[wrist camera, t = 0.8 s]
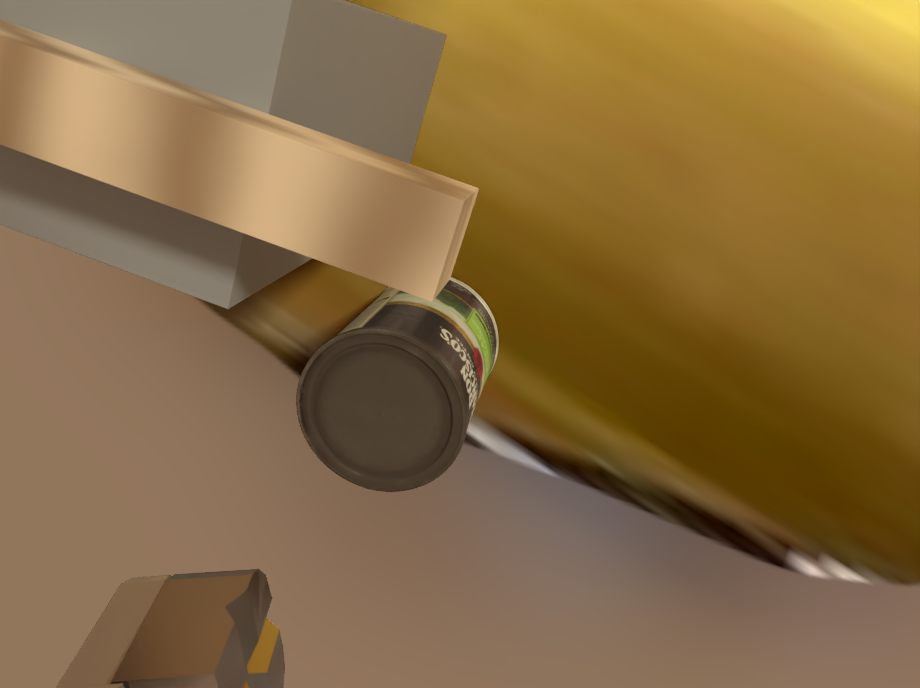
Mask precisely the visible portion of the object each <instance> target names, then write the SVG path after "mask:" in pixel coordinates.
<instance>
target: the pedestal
mask: <svg viewBox="0 0 920 688" xmlns="http://www.w3.org/2000/svg"><path fill="white" fill-rule="evenodd" d="M0 19H1V20H4V21H7V22H10V23H12V24H15V25H18V26H21V27H24V28H27V29H29V30H32V31H35V32H38V33H41V34H44V35H46V36H49V37H52V38H55V39H58V40H60V41H63V42H66V43H69V44H72V45H75V46H77V47H80V48H83V49H86V50H89V51H92V52H94V53H97V54H100V55H103V56H106V57H109V58H111V59H114V60H117V61H120V62H123V63H126V64H128V65H131V66H134V67H137V68H140V69H143V70H145V71H148V72H151V73H154V74H157V75H159V76H162V77H165V78H168V79H171V80H174V81H176V82H179V83H182V84H185V85H188V86H191V87H193V88H196V89H199V90H202V91H205V92H208V93H210V94H213V95H216V96H219V97H222V98H225V99H227V100H230V101H233V102H236V103H239V104H241V105H244V106H247V107H250V108H253V109H256V110H258V111H261V112H264V113H267V114H270V115H273V116H275V117H278V118H281V119H284V120H287V121H290V122H292V123H295V124H298V125H301V126H304V127H307V128H309V129H312V130H315V131H318V132H321V133H324V134H326V135H329V136H332V137H335V138H338V139H340V140H343V141H346V142H349V143H352V144H355V145H357V146H360V147H363V148H366V149H369V150H372V151H374V152H377V153H380V154H383V155H386V156H389V157H391V158H394V159H397V160H400V161H403V162H406V163H408V164H410V162H411V158H412V155H413V151H414V148H415V144H416V141H417V137H418V134H419V130H420V127H421V123H422V120H423V116H424V113H425V109H426V106H427V102H428V98H429V95H430V91H431V88H432V84H433V81H434V77H435V74H436V70H437V67H438V63H439V60H440V56H441V53H442V49H443V46H444V42H445V39H446V34H443V33H440V32H437V31H434V30H431V29H428V28H425V27H422V26H419V25H417V24H414V23H411V22H408V21H405V20H402V19H399V18H396V17H393V16H390V15H387V14H384V13H381V12H378V11H376V10H373V9H370V8H367V7H364V6H361V5H358V4H355V3H352V2H349V1H346V0H0ZM0 225H3V226H6V227H8V228H11V229H14V230H17V231H19V232H22V233H25V234H27V235H30V236H33V237H36V238H38V239H41V240H43V241H46V242H49V243H51V244H54V245H57V246H59V247H62V248H65V249H68V250H70V251H73V252H76V253H79V254H81V255H84V256H86V257H89V258H92V259H94V260H97V261H100V262H102V263H105V264H108V265H110V266H113V267H116V268H119V269H122V270H124V271H127V272H129V273H132V274H135V275H137V276H140V277H143V278H145V279H148V280H151V281H153V282H156V283H159V284H162V285H164V286H167V287H170V288H172V289H175V290H178V291H180V292H183V293H186V294H188V295H191V296H194V297H196V298H199V299H202V300H205V301H207V302H210V303H213V304H215V305H218V306H221V307H223V308H226V309H229V308H231V307H232V306H234V305H236V304H237V303H239V302H241V301H242V300H244V299H246V298H247V297H249V296H251V295H252V294H254V293H256V292H257V291H259V290H261V289H262V288H264V287H266V286H267V285H269V284H271V283H272V282H274V281H276V280H277V279H279V278H281V277H282V276H284V275H286V274H287V273H289V272H291V271H292V270H294V269H296V268H297V267H299V266H301V265H302V264H304V263H306V262H307V261H309V260H311V259H312V258H310V257H307V256H305V255H302V254H299V253H297V252H294V251H291V250H288V249H286V248H283V247H280V246H277V245H275V244H272V243H269V242H266V241H264V240H261V239H258V238H255V237H253V236H250V235H247V234H244V233H242V232H239V231H236V230H233V229H231V228H228V227H225V226H223V225H220V224H217V223H214V222H212V221H209V220H206V219H203V218H201V217H198V216H195V215H192V214H190V213H187V212H184V211H181V210H179V209H176V208H173V207H170V206H168V205H165V204H162V203H159V202H157V201H154V200H151V199H149V198H146V197H143V196H140V195H138V194H135V193H132V192H129V191H127V190H124V189H121V188H118V187H116V186H113V185H110V184H107V183H105V182H102V181H99V180H96V179H94V178H91V177H88V176H85V175H83V174H80V173H77V172H75V171H72V170H69V169H66V168H64V167H61V166H58V165H55V164H53V163H50V162H47V161H44V160H42V159H39V158H36V157H33V156H31V155H28V154H25V153H22V152H20V151H17V150H14V149H12V148H9V147H6V146H3V145H1V144H0Z"/></svg>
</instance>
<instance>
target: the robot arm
mask: <svg viewBox="0 0 920 688" xmlns="http://www.w3.org/2000/svg"><path fill="white" fill-rule="evenodd" d="M271 600H272V596H271V593H270V589H269V585H268V581H267V578H266V575H265V574H264V573H263V572H262V571H261V570H259V569H252V570H237V571H221V572H205V573H189V574H175V575H173V576H171V575H163V576H151V577H138V578H131V579H129V580H127V581H125V582H124V583H122V584H121V585H120V586H119V588H118V589H117V591H116V592H115V594H114V596H113V597H112V599H111V600H110V602H109V604H108V605H107V607H106V608H105V610H104V612H103V613H102V615H101V617H100V618H99V620H98V621H97V623H96V625H95V626H94V628H93V629H92V631H91V632H90V634H89V636H88V637H87V639H86V640H85V642H84V643H83V645H82V647H81V648H80V650H79V651H78V653H77V655H76V656H75V658H74V660H73V661H72V663H71V664H70V666H69V667H68V669H67V671H66V672H65V674H64V675H63V677H62V679H61V680H60V682H59V683H58V685H57V687H56V688H283V685H284V673H285V663H284V651H283V644H282V639H281V635H280V630H279V629H278V628H277V627H276V626H275V625H273V624H272V623H271V622H270V621H269V620H268V619H266V616H267V613H268V610H269V607H270V603H271Z"/></svg>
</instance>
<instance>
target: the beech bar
mask: <svg viewBox="0 0 920 688" xmlns="http://www.w3.org/2000/svg"><path fill="white" fill-rule="evenodd" d="M0 144H1V145H3V146H6V147H9V148H12V149H14V150H17V151H20V152H22V153H25V154H28V155H31V156H33V157H36V158H39V159H42V160H44V161H47V162H50V163H53V164H55V165H58V166H61V167H64V168H66V169H69V170H72V171H75V172H77V173H80V174H83V175H85V176H88V177H91V178H94V179H96V180H99V181H102V182H105V183H107V184H110V185H113V186H116V187H118V188H121V189H124V190H127V191H129V192H132V193H135V194H138V195H140V196H143V197H146V198H149V199H151V200H154V201H157V202H159V203H162V204H165V205H168V206H170V207H173V208H176V209H179V210H181V211H184V212H187V213H190V214H192V215H195V216H198V217H201V218H203V219H206V220H209V221H212V222H214V223H217V224H220V225H223V226H225V227H228V228H231V229H233V230H236V231H239V232H242V233H244V234H247V235H250V236H253V237H255V238H258V239H261V240H264V241H266V242H269V243H272V244H275V245H277V246H280V247H283V248H286V249H288V250H291V251H294V252H297V253H299V254H302V255H305V256H307V257H310V258H313V259H316V260H318V261H321V262H324V263H327V264H329V265H332V266H335V267H338V268H340V269H343V270H346V271H349V272H351V273H354V274H357V275H360V276H362V277H365V278H368V279H370V280H373V281H376V282H379V283H381V284H384V285H387V286H390V287H392V288H395V289H398V290H401V291H403V292H406V293H409V294H412V295H414V296H417V297H420V298H423V299H425V300H428V301H431V302H432V301H433V300H434V299H435V298H436V296H437V295H438V294H439V293H440V291H441V290H442V289H443V288H444V286H445V285H446V284H447V282H448V281H449V280H450V277H451V274H452V271H453V268H454V265H455V262H456V258H457V255H458V252H459V249H460V246H461V243H462V240H463V237H464V234H465V231H466V228H467V224H468V221H469V218H470V215H471V212H472V209H473V206H474V203H475V200H476V197H477V194H478V190H479V188H476V187H473V186H471V185H468V184H465V183H462V182H459V181H456V180H454V179H451V178H448V177H445V176H442V175H439V174H437V173H434V172H431V171H428V170H425V169H423V168H420V167H417V166H414V165H411V164H408V163H406V162H403V161H400V160H397V159H394V158H391V157H389V156H386V155H383V154H380V153H377V152H374V151H372V150H369V149H366V148H363V147H360V146H357V145H355V144H352V143H349V142H346V141H343V140H340V139H338V138H335V137H332V136H329V135H326V134H324V133H321V132H318V131H315V130H312V129H309V128H307V127H304V126H301V125H298V124H295V123H292V122H290V121H287V120H284V119H281V118H278V117H275V116H273V115H270V114H267V113H264V112H261V111H258V110H256V109H253V108H250V107H247V106H244V105H241V104H239V103H236V102H233V101H230V100H227V99H225V98H222V97H219V96H216V95H213V94H210V93H208V92H205V91H202V90H199V89H196V88H193V87H191V86H188V85H185V84H182V83H179V82H176V81H174V80H171V79H168V78H165V77H162V76H159V75H157V74H154V73H151V72H148V71H145V70H143V69H140V68H137V67H134V66H131V65H128V64H126V63H123V62H120V61H117V60H114V59H111V58H109V57H106V56H103V55H100V54H97V53H94V52H92V51H89V50H86V49H83V48H80V47H77V46H75V45H72V44H69V43H66V42H63V41H60V40H58V39H55V38H52V37H49V36H46V35H44V34H41V33H38V32H35V31H32V30H29V29H27V28H24V27H21V26H18V25H15V24H12V23H10V22H7V21H4V20H1V19H0Z"/></svg>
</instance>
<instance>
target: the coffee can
mask: <svg viewBox="0 0 920 688" xmlns="http://www.w3.org/2000/svg"><path fill="white" fill-rule="evenodd" d="M498 346H499V338H498V329H497V325H496V322H495V319H494V317H493V314H492V312H491V310H490V309H489V307H488V305H487V304H486V303H485V301H484V300H483V299H482V298H481V297H480V296H479V294H478V293H476V292H475V291H474V290H473V289H472V288H471V287H469V286H468V285H467V284H465V283H463V282H461V281H459V280H457V279H455V278H452V277H450V280H449V281H448V282H447V284H446V285H445V286H444V288H443V289H442V290H441V291H440V293H439V294H438V295H437V296H436V298H435V299H434V300H433V301H432V302H431V301H428V300H425V299H423V298H420V297H417V296H414V295H412V294H409V293H406V292H403V291H401V290H398V289H395V288H392V287H390V286H389V287H388V288H387V289H386V290H385V291H384V292H383V293H382V294H381V295H380V296H379V297H378V298H377V299H376V300H375V301H374V302H373V303H372V304H371V305H370V306H369V307H367V308H366V309H365V310H364V311H363V312H362V313H361V314H360V315H359V316H358V317H357V318H355V319H354V320H353V321H352V322H351V323H350V324H349V325H348V326H347V327H345V328H344V329H343V330H342V331H341V332H340V333H339V334H338V335H337V336H335V337H333V338H332V339H330V340H329V341H328V342H326V343H325V344H324V345H322V346H321V347H320V348H319V349H318V350H317V351H316V352H315V353H314V354H313V355H312V357H311V358H310V359H309V361H308V362H307V364H306V366H305V368H304V370H303V372H302V374H301V377H300V380H299V383H298V388H297V396H296V397H297V399H296V405H297V414H298V419H299V423H300V427H301V430H302V432H303V434H304V437H305V439H306V440H307V442H308V444H309V446H310V447H311V449H312V450H313V452H314V453H315V454H316V455H317V456H318V458H319V459H320V460H321V461H322V462H323V463H324V464H325V465H326V466H327V467H328V468H330V469H331V470H332V471H333V472H335V473H336V474H338V475H339V476H341V477H342V478H344V479H346V480H348V481H350V482H352V483H354V484H356V485H359V486H362V487H364V488H367V489H372V490H376V491H386V492H397V491H405V490H410V489H414V488H417V487H420V486H423V485H425V484H428V483H430V482H431V481H433V480H435V479H436V478H438V477H439V476H440V475H442V474H443V473H444V472H445V471H446V470H447V469H448V468H449V467H450V466H451V464H452V463H453V462H454V460H455V459H456V457H457V455H458V454H459V452H460V450H461V448H462V445H463V442H464V439H465V436H466V432H467V427H468V424H469V422H470V420H471V417H472V414H473V412H474V409H475V407H476V404H477V402H478V399H479V397H480V394H481V392H482V390H483V387H484V385H485V383H486V380H487V378H488V376H489V374H490V372H491V371H492V369H493V367H494V364H495V362H496V358H497V354H498Z"/></svg>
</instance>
